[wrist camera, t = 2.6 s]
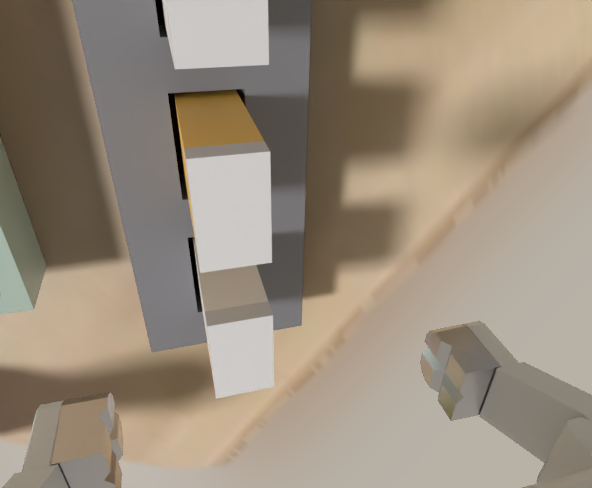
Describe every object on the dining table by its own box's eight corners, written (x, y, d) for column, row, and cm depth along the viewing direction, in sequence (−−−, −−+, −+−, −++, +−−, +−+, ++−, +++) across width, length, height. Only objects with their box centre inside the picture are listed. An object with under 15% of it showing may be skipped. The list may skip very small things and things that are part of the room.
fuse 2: (189, 215, 29) (207, 326, 21) (237, 209, 29) (273, 315, 21) (197, 278, 31) (215, 398, 23) (241, 272, 32) (274, 386, 24)
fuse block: (35, -218, 17) (17, -241, 15) (296, -197, 19) (318, -214, 17) (151, 320, 32) (151, 352, 30) (290, 297, 35) (301, 325, 32)
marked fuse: (172, 81, 24) (185, 158, 16) (229, 78, 25) (270, 151, 17) (183, 170, 27) (200, 273, 19) (235, 165, 28) (272, 262, 20)
